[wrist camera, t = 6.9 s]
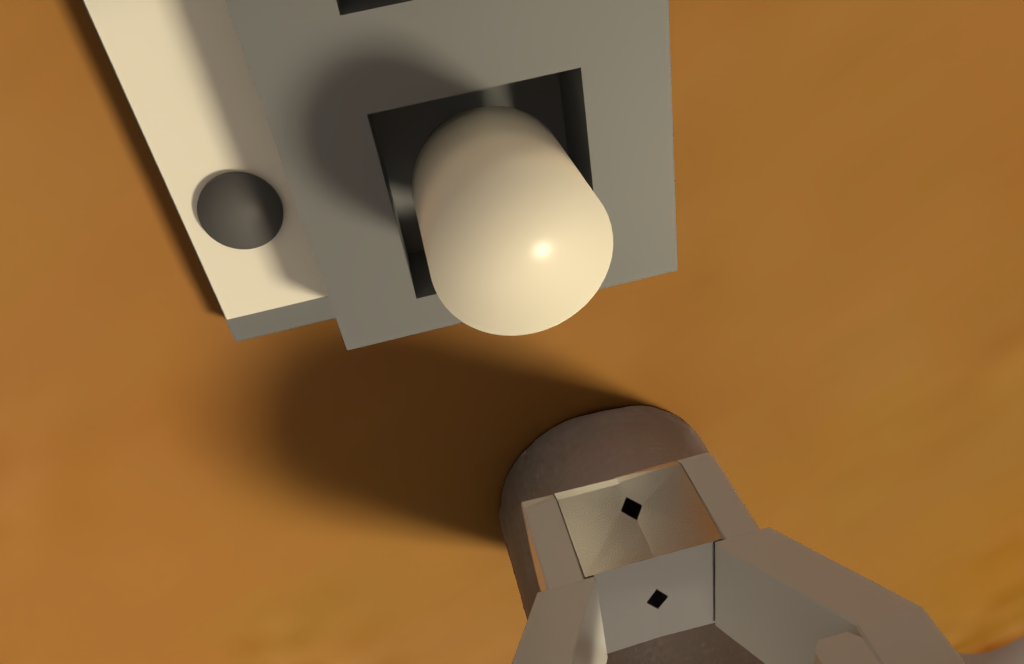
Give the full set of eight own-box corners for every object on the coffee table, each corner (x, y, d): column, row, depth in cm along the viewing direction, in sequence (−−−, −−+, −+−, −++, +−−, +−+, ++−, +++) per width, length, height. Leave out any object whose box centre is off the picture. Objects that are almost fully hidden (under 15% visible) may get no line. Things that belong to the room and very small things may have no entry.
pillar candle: (607, 583, 39) (743, 937, 26) (451, 519, 34) (531, 916, 22) (747, 452, 36) (975, 785, 23) (598, 363, 31) (786, 722, 19)
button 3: (556, 89, 21) (605, 148, 17) (573, 234, 23) (619, 312, 20) (394, 125, 20) (409, 193, 17) (430, 268, 23) (449, 353, 19)
